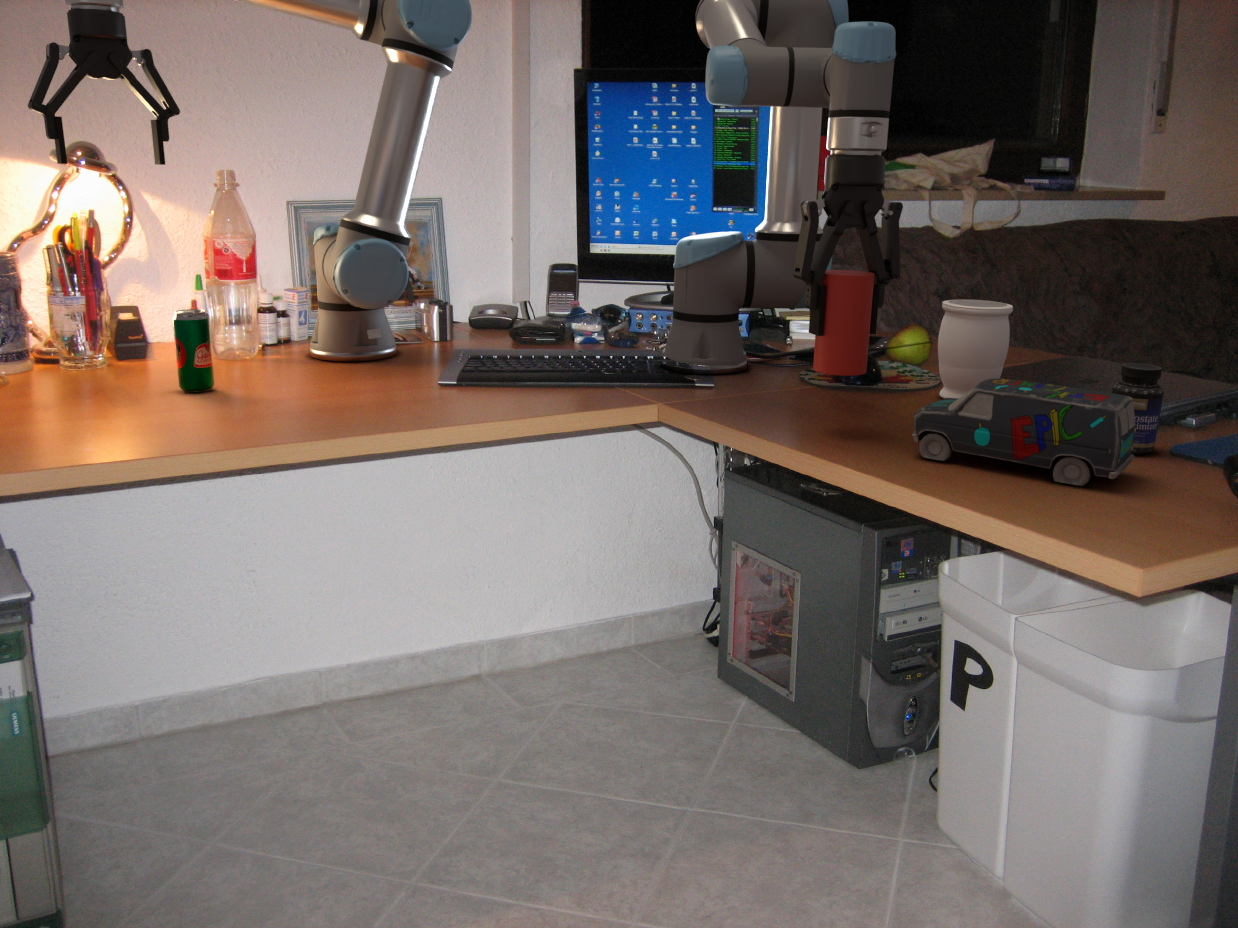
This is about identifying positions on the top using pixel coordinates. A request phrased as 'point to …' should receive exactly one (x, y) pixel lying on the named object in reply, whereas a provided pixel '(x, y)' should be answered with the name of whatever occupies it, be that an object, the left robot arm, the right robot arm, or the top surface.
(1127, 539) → the top surface
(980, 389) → the toy van
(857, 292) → the canister
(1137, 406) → the pill bottle
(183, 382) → the soda can
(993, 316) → the jar
